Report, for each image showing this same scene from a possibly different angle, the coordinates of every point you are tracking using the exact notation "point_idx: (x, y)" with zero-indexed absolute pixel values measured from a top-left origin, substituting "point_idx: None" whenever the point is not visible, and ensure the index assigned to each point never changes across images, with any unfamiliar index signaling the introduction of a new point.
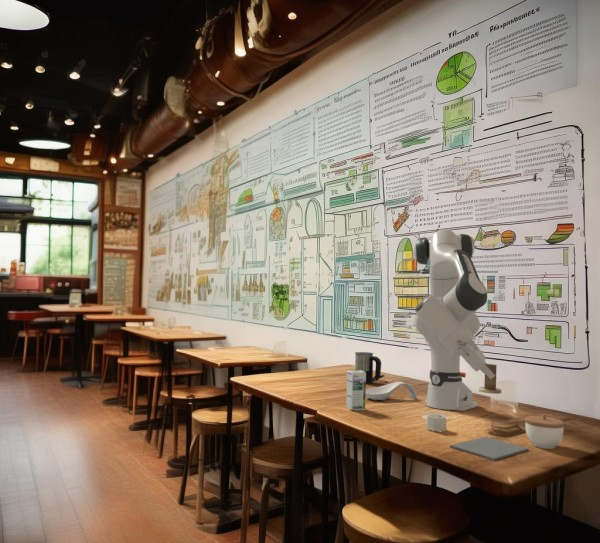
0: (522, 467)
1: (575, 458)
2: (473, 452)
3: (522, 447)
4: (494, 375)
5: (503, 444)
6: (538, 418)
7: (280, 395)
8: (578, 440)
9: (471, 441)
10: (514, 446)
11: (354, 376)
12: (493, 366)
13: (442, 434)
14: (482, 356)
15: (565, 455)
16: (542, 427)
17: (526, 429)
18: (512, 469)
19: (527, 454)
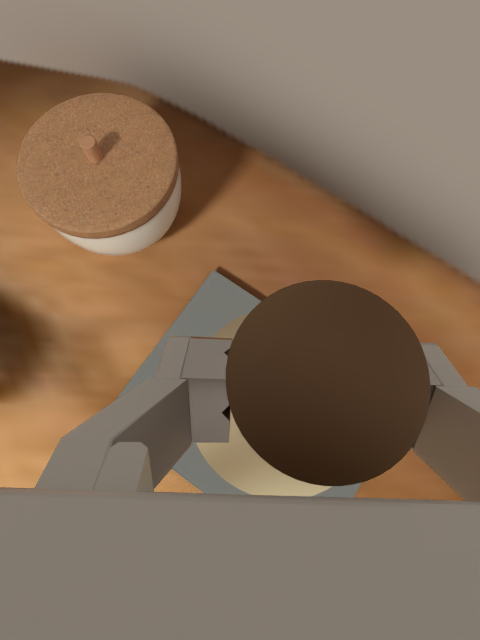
0: (433, 311)
1: (246, 148)
2: None
3: (211, 288)
4: (434, 347)
5: None
6: (84, 177)
7: None
8: (7, 101)
9: (206, 478)
10: (210, 314)
11: None
12: (409, 336)
13: None
14: (387, 620)
15: (224, 169)
16: (175, 184)
17: (121, 248)
18: (474, 344)
19: (268, 280)
